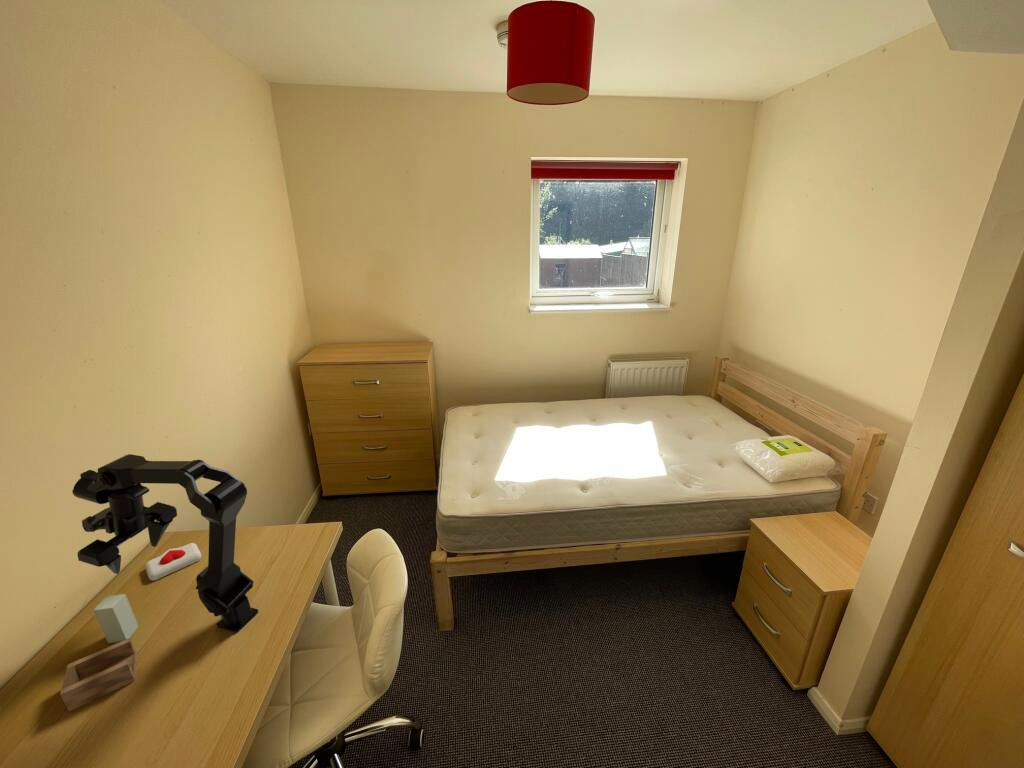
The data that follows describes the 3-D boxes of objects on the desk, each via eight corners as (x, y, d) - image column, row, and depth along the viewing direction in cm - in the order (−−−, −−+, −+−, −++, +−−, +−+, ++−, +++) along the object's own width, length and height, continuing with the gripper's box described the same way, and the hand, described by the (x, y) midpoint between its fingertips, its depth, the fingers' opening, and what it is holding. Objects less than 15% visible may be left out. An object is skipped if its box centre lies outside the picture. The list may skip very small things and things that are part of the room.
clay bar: (138, 626, 103) (125, 593, 99) (126, 640, 99) (112, 607, 96) (120, 628, 102) (106, 596, 99) (108, 643, 98) (93, 610, 95)
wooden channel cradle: (136, 653, 96) (129, 637, 94) (134, 680, 90) (127, 664, 88) (75, 680, 90) (67, 664, 88) (69, 711, 84) (60, 694, 82)
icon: (191, 533, 129) (199, 548, 123) (195, 545, 131) (203, 560, 124) (140, 554, 121) (146, 571, 114) (145, 566, 122) (151, 584, 116)
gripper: (136, 476, 107) (144, 525, 112) (48, 523, 89) (62, 578, 95) (176, 488, 106) (181, 536, 111) (95, 537, 88) (106, 592, 94)
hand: (136, 559), depth 103 cm, fingers open, 9 cm apart
